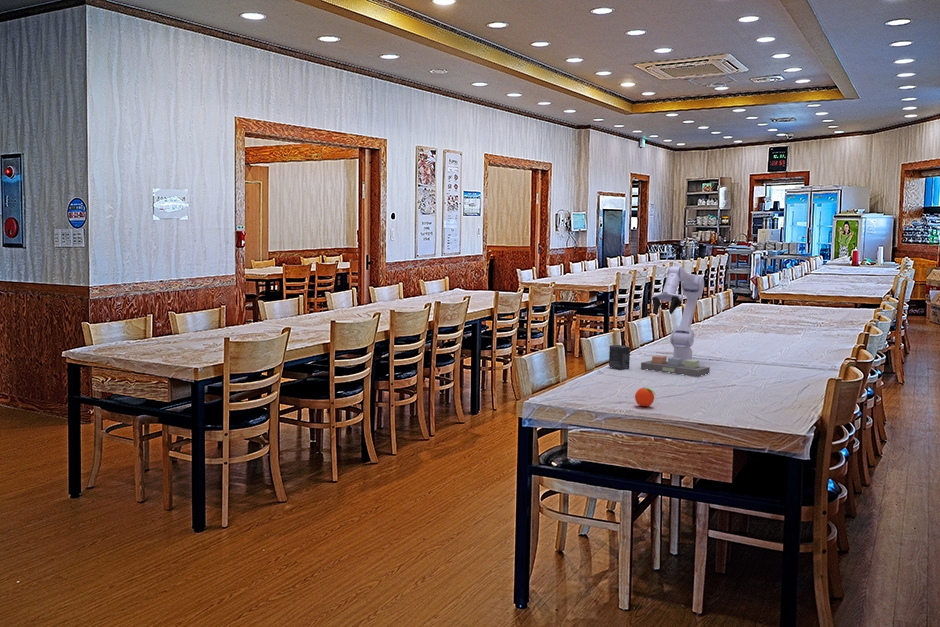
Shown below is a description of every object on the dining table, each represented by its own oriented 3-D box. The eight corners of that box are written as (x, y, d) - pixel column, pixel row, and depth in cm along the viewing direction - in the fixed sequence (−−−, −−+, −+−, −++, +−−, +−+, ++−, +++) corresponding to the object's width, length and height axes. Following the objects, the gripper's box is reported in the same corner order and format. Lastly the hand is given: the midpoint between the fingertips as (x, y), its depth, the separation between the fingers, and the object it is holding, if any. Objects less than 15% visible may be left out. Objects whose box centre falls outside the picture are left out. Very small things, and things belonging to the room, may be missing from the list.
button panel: (653, 366, 391) (653, 359, 391) (709, 373, 373) (709, 367, 373) (640, 369, 382) (640, 362, 382) (697, 377, 364) (697, 370, 363)
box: (629, 369, 382) (630, 346, 380) (621, 370, 378) (622, 347, 377) (616, 366, 388) (617, 344, 386) (608, 367, 384) (609, 345, 383)
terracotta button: (656, 364, 386) (657, 355, 386) (666, 365, 383) (666, 356, 382) (651, 365, 382) (652, 356, 382) (661, 366, 379) (661, 357, 379)
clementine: (660, 407, 300) (660, 387, 300) (650, 410, 295) (651, 390, 295) (640, 403, 306) (641, 384, 305) (630, 406, 301) (631, 387, 300)
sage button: (688, 368, 376) (689, 359, 375) (698, 369, 372) (699, 360, 372) (683, 369, 372) (684, 360, 372) (693, 371, 369) (694, 361, 368)
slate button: (672, 366, 381) (673, 357, 380) (682, 367, 378) (682, 358, 377) (667, 367, 377) (668, 358, 377) (677, 368, 374) (677, 359, 374)
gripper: (652, 283, 378) (644, 307, 372) (682, 282, 368) (674, 307, 362) (658, 292, 382) (650, 316, 376) (687, 292, 373) (679, 316, 367)
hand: (662, 312), depth 369 cm, fingers open, 7 cm apart
